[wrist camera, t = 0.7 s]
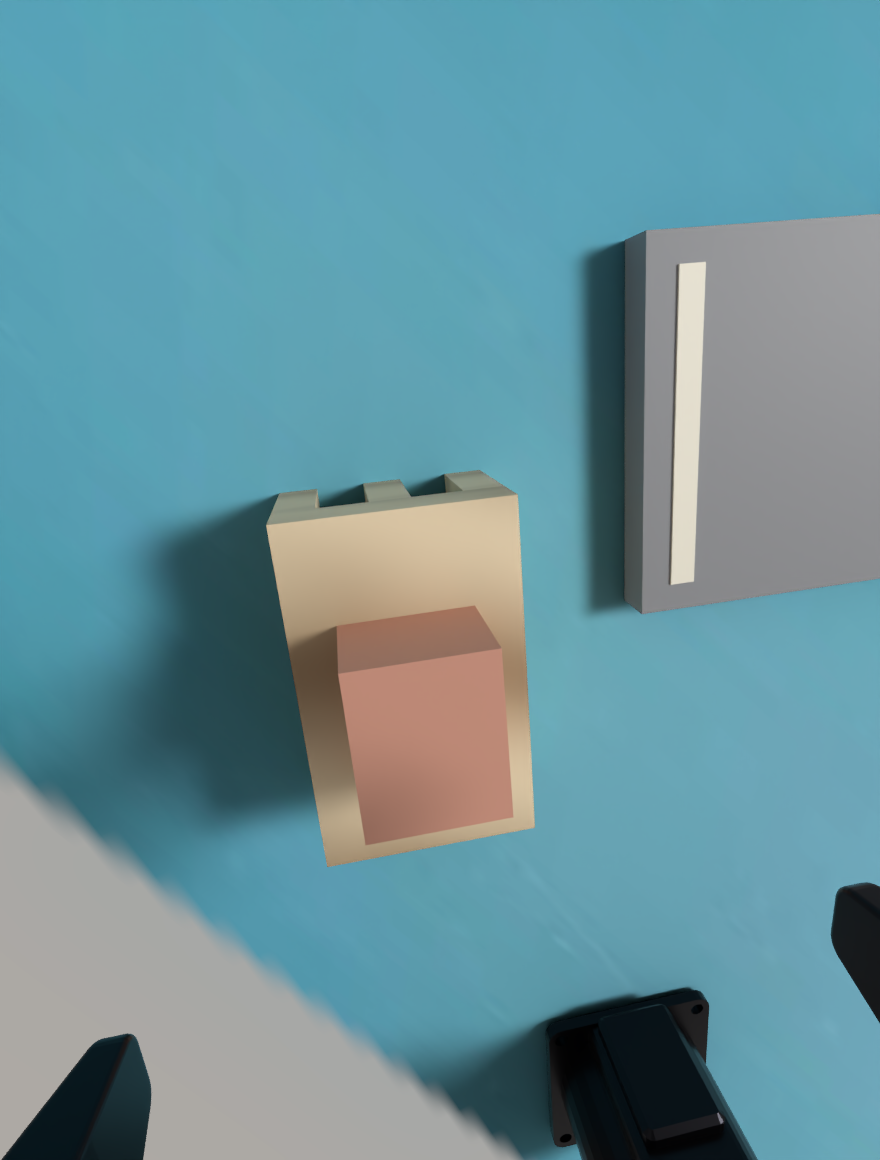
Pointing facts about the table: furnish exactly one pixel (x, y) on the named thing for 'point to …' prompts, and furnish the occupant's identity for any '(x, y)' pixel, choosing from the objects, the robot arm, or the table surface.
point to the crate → (425, 722)
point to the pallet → (392, 589)
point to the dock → (751, 410)
